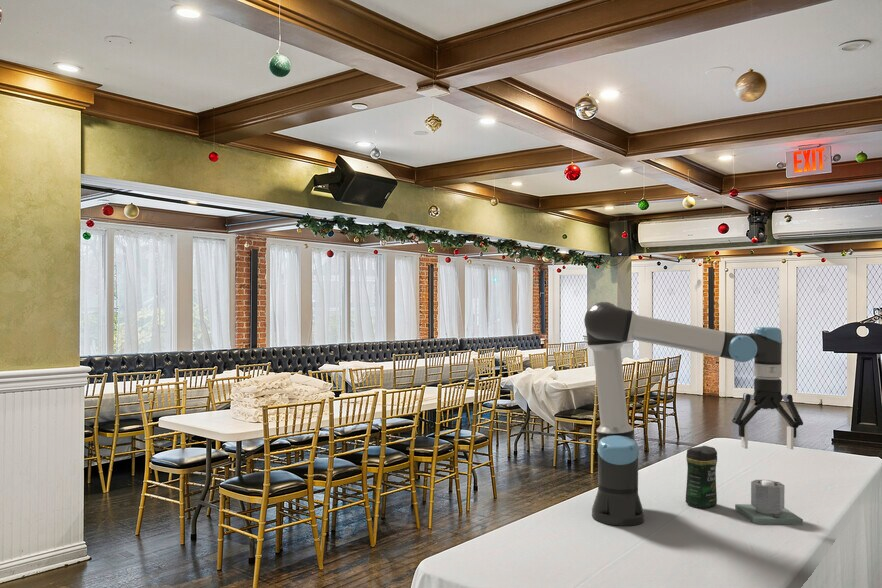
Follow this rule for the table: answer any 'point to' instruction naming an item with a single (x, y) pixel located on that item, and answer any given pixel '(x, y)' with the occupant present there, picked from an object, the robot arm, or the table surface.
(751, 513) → the stand
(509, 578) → the table surface
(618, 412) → the robot arm
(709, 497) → the coffee jar
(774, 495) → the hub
